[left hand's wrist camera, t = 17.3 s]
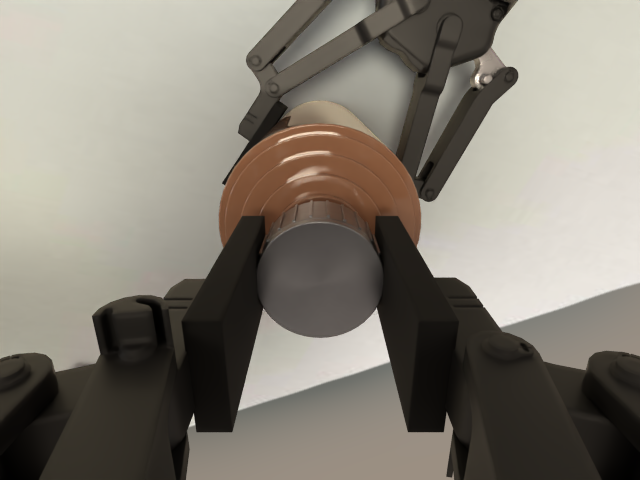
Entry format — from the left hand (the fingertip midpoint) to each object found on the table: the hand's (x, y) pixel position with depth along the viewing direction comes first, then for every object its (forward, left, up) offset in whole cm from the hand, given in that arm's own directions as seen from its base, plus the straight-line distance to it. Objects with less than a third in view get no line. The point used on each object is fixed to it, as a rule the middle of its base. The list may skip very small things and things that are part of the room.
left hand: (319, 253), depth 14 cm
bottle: (0, 0, -22) cm, 22 cm away
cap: (0, 0, +2) cm, 2 cm away
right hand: (-4, -2, -16) cm, 17 cm away
